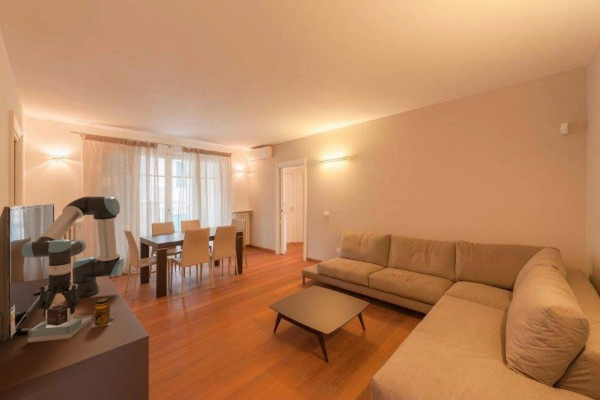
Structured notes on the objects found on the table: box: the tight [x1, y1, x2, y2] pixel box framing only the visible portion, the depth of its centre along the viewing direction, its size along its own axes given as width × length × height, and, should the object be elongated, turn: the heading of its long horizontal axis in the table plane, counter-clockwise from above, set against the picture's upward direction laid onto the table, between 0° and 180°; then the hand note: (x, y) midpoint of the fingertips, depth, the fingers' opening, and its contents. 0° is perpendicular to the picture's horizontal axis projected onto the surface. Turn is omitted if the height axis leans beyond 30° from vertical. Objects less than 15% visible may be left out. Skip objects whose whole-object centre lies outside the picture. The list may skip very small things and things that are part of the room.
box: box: [46, 303, 69, 326], centre depth 114 cm, size 6×6×7 cm
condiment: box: [91, 297, 115, 328], centre depth 124 cm, size 7×8×12 cm
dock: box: [27, 315, 94, 343], centre depth 117 cm, size 17×16×5 cm
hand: (59, 321), depth 114 cm, fingers closed on box, 8 cm apart
